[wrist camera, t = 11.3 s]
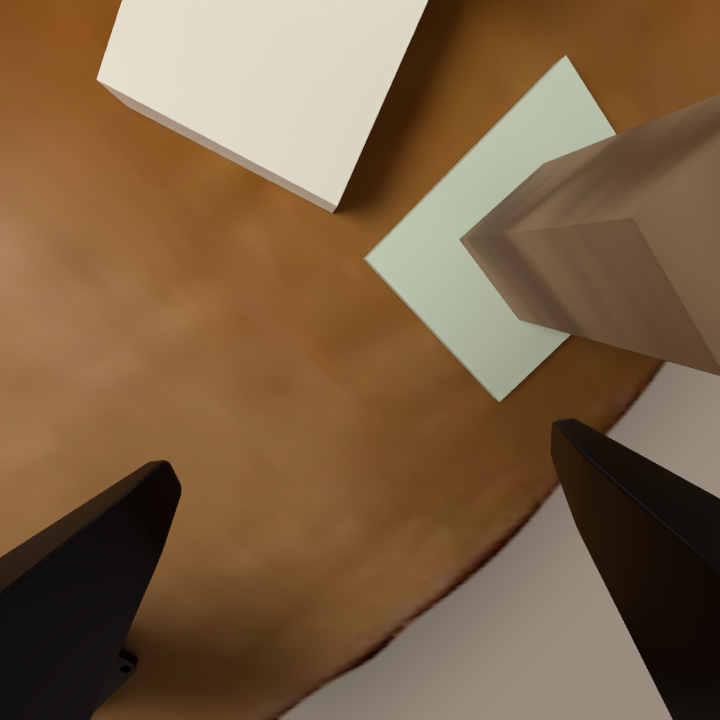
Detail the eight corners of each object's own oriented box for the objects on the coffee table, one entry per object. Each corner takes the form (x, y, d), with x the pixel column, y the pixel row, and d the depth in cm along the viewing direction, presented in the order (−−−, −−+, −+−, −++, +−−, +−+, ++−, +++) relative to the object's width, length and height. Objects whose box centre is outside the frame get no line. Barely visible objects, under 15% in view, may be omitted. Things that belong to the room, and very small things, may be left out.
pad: (492, 396, 21) (499, 401, 21) (363, 258, 19) (365, 258, 18) (664, 233, 21) (678, 232, 20) (554, 63, 18) (565, 55, 17)
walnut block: (518, 319, 20) (726, 377, 10) (458, 239, 18) (632, 217, 9) (598, 250, 19) (889, 241, 10) (543, 163, 18) (818, 53, 8)
